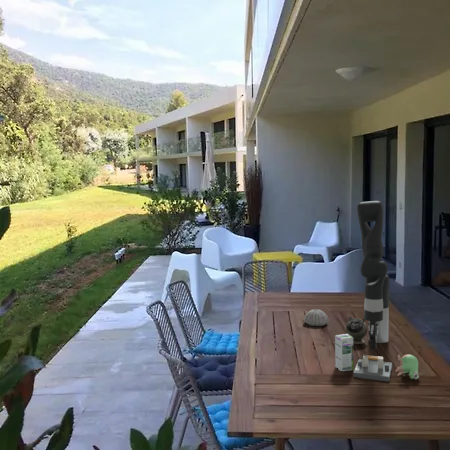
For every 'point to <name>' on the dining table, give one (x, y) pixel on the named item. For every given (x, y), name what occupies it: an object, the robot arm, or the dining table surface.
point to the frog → (408, 366)
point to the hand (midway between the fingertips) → (373, 348)
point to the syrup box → (344, 352)
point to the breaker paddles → (380, 359)
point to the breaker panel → (373, 370)
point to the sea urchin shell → (316, 318)
